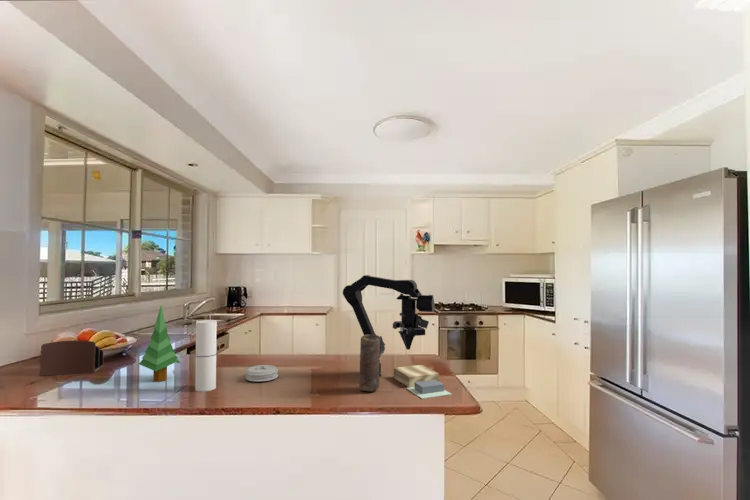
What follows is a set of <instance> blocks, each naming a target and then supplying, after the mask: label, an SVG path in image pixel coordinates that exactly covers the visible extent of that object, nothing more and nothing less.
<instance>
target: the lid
mask: <svg viewBox="0 0 750 500" xmlns="http://www.w3.org/2000/svg"><path fill="white" fill-rule="evenodd" d="M278 372H279V368H277V366H275V365H271V364H260V365H259V364H258V365H253V366H250V367H248V369H246V370H245V374H246V375H245V380H247V381H250V382H267V381H268V382H269V381H272V380H276V379H277V378H278V377H279V374H278Z"/></svg>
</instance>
